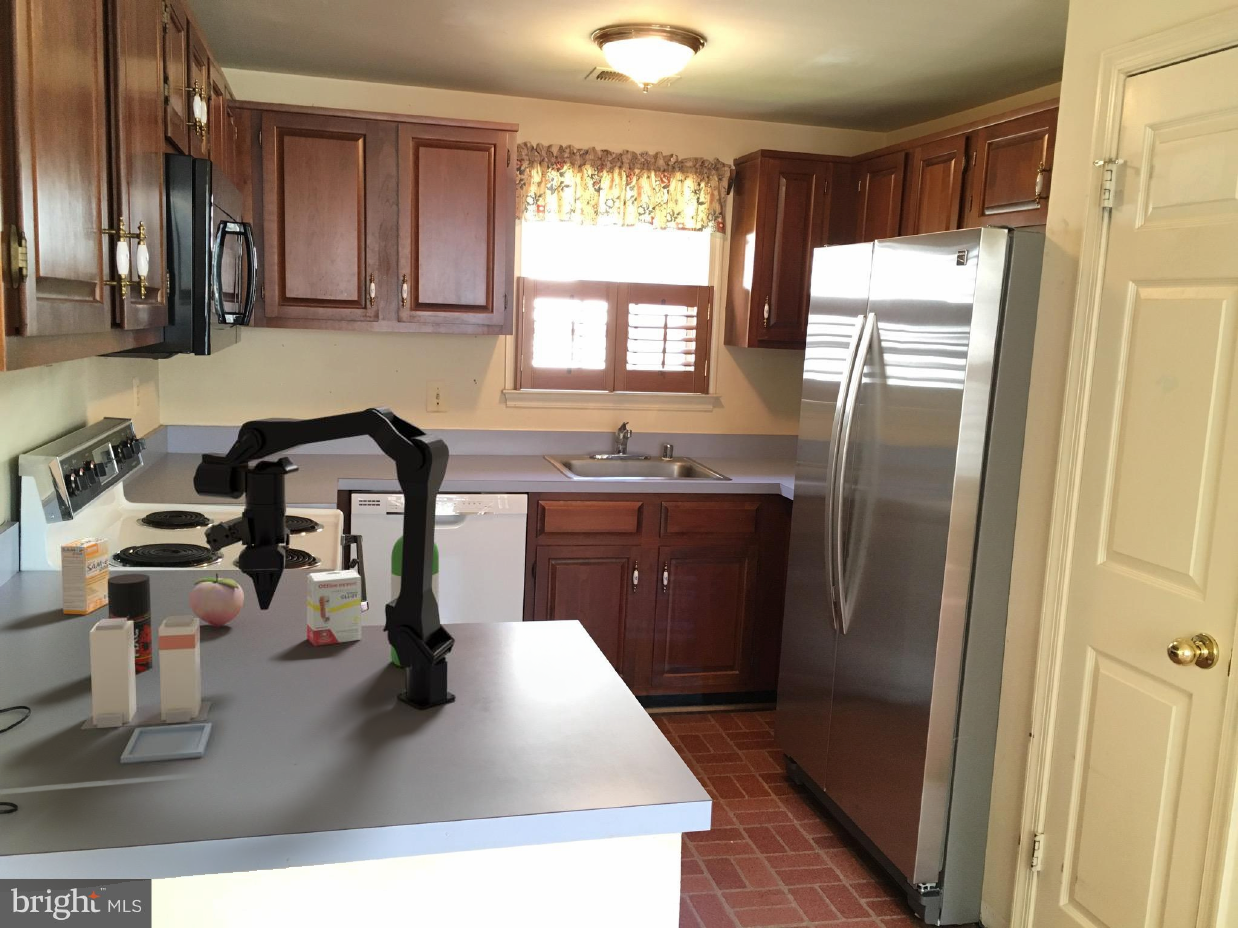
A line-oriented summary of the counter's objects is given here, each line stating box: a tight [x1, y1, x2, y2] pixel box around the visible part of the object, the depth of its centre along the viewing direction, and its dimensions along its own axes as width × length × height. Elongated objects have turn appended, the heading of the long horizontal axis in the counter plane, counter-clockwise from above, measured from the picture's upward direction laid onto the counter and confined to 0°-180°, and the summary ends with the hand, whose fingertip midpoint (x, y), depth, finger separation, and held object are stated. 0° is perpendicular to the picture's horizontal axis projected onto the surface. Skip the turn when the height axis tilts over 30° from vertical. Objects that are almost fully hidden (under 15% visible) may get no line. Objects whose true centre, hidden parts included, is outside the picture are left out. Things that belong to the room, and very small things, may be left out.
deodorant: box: [107, 573, 154, 675], centre depth 153 cm, size 6×6×15 cm
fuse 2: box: [158, 614, 202, 720], centre depth 136 cm, size 5×5×14 cm
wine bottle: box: [390, 534, 440, 667], centre depth 161 cm, size 8×8×30 cm
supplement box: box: [60, 537, 110, 616], centre depth 185 cm, size 8×5×13 cm, turn 179°
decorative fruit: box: [189, 572, 245, 628], centre depth 177 cm, size 9×8×10 cm
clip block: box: [80, 701, 212, 730], centre depth 136 cm, size 16×7×2 cm, turn 106°
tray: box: [120, 722, 213, 765], centre depth 127 cm, size 9×9×1 cm
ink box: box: [306, 569, 362, 647], centre depth 172 cm, size 9×5×12 cm, turn 120°
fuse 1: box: [89, 618, 137, 725], centre depth 134 cm, size 4×4×14 cm
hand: (266, 601), depth 150 cm, fingers open, 9 cm apart
